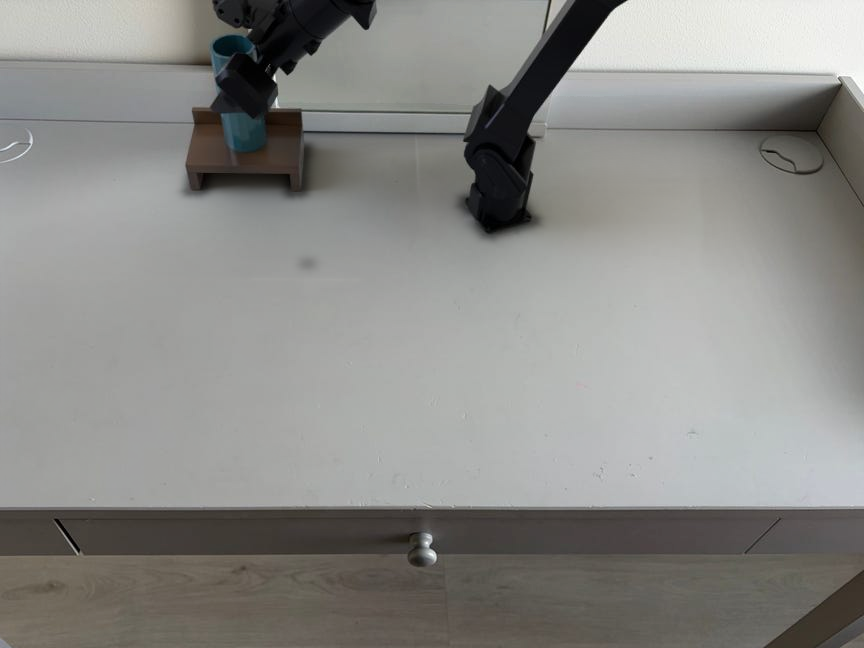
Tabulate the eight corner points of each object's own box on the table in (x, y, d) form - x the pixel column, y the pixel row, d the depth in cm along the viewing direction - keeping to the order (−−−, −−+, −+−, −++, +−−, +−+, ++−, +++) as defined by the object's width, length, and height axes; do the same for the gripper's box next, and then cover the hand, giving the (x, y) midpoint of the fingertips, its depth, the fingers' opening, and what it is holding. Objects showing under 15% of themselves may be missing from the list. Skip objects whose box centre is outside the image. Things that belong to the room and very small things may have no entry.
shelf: (304, 146, 105) (301, 108, 100) (300, 191, 99) (297, 153, 95) (200, 145, 104) (192, 106, 100) (190, 190, 99) (181, 151, 94)
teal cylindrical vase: (273, 144, 99) (263, 50, 88) (236, 157, 97) (220, 63, 87) (256, 122, 101) (243, 28, 91) (219, 134, 100) (202, 40, 89)
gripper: (283, -88, 85) (204, -4, 95) (220, -3, 74) (139, 81, 84) (353, -7, 90) (271, 64, 100) (304, 84, 79) (218, 153, 89)
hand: (227, 87), depth 93 cm, fingers open, 9 cm apart
